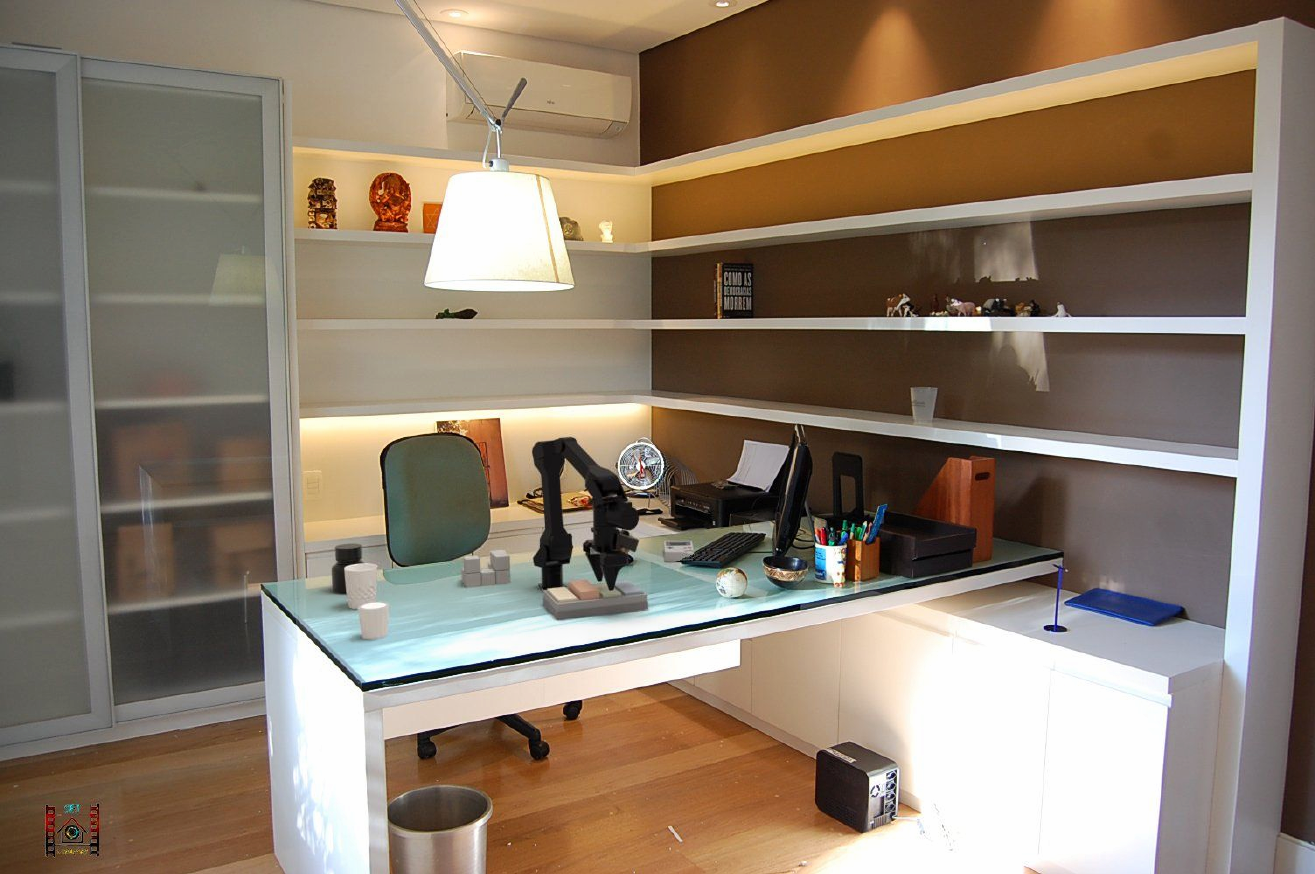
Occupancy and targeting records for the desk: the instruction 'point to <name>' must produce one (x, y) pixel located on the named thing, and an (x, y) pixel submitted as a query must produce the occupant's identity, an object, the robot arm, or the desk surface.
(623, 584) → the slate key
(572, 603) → the pastel key tray
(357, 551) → the ink bottle
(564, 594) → the sand key
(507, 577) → the grey stacked cubes
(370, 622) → the white cylinder
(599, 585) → the sage key
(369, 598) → the white cup
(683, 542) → the handheld gaming device
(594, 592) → the terracotta key
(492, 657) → the desk surface
